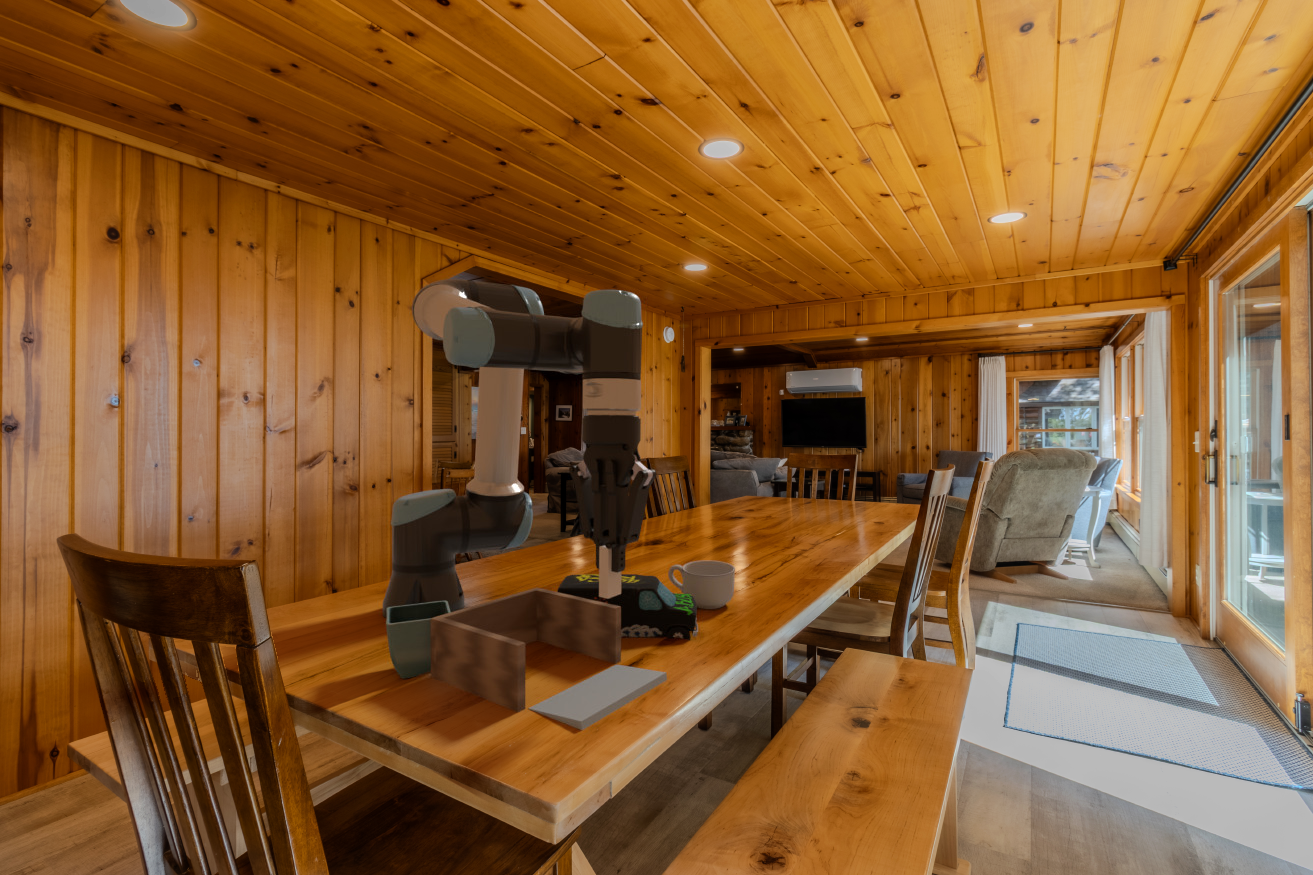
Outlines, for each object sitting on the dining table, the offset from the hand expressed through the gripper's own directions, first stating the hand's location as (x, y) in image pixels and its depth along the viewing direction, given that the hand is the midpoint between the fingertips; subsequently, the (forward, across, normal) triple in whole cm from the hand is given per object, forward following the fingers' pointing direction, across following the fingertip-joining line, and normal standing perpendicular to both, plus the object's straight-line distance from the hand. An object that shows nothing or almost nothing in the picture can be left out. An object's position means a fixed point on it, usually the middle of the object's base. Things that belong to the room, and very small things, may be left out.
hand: (610, 594), depth 79 cm
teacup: (+15, -14, +46) cm, 50 cm away
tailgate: (+13, -6, 0) cm, 15 cm away
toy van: (+15, -15, +22) cm, 31 cm away
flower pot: (+15, -30, -8) cm, 35 cm away
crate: (+15, -15, 0) cm, 21 cm away
